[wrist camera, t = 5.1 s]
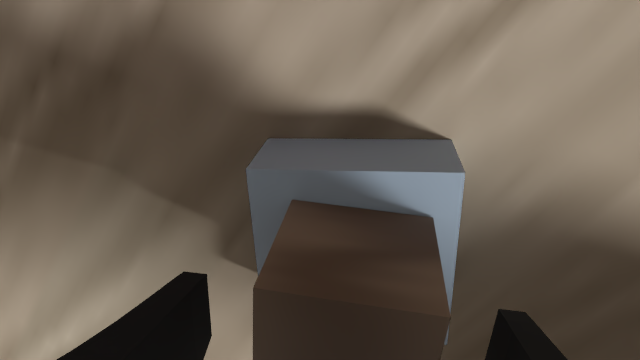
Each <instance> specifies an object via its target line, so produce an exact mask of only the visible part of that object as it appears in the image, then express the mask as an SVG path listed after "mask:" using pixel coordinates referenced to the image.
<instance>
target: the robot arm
mask: <svg viewBox="0 0 640 360" xmlns="http://www.w3.org/2000/svg"><path fill="white" fill-rule="evenodd" d="M211 336H212V334H211V321H210V309H209V296H208V283H207V274H200V273H192V272H183V273H181V274H180V275H178V276H177V277H176V278H174V279H173V280H172V281H170V282H169V283H167V284H166V285H165V286H163V287H162V288H161V289H160V290H158V291H157V292H156V293H154V294H153V295H152V296H150V297H149V298H148V299H146V300H145V301H143V302H142V303H141V304H139V305H138V306H137V307H135V308H134V309H132V310H131V311H130V312H128V313H127V314H126V315H124V316H123V317H121V318H120V319H119V320H117V321H116V322H114V323H113V324H111V325H110V326H108V327H107V328H105V329H104V330H102V331H101V332H99V333H98V334H96V335H95V336H93V337H92V338H90V339H89V340H87V341H86V342H84V343H83V344H81V345H80V346H78V347H77V348H75V349H73V350H72V351H70V352H69V353H67V354H65V355H64V356H62V357H60V358H59V359H57V360H203V359H204V356H205V353H206V350H207V348H208V345H209V342H210V339H211ZM485 360H567V359H566V357H565V356H564V355H563V354H562V353H561V352H560V351H559V350H558V348H557V347H556V346H555V345H554V344H553V343H552V342H551V341H550V339H549V338H548V337H547V336H546V335H545V334H544V333H543V331H542V330H541V329H540V328H539V327H538V326H537V325H536V323H535V322H534V321H533V320H532V319H531V318H530V317H529V316H528V315H527V314H526V312H519V311H510V310H502V309H499V310H498V314H497V317H496V321H495V325H494V328H493V332H492V336H491V339H490V343H489V347H488V350H487V354H486V358H485Z"/></svg>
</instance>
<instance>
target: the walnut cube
mask: <svg viewBox="0 0 640 360" xmlns="http://www.w3.org/2000/svg"><path fill="white" fill-rule="evenodd" d="M450 319H451V316H450V311H449V305H448V299H447V293H446V288H445V282H444V276H443V271H442V265H441V259H440V254H439V248H438V242H437V236H436V231H435V225H434V219H433V218H432V217H425V216H417V215H409V214H401V213H394V212H386V211H378V210H370V209H363V208H355V207H347V206H339V205H331V204H324V203H316V202H308V201H300V200H293V199H292V201H291V203H290V205H289V207H288V210H287V212H286V214H285V217H284V219H283V221H282V223H281V226H280V228H279V230H278V233H277V235H276V237H275V239H274V242H273V244H272V246H271V249H270V251H269V253H268V255H267V258H266V260H265V262H264V265H263V267H262V269H261V271H260V274H259V276H258V278H257V280H256V283H255V285H254V287H253V360H440V358H441V354H442V350H443V346H444V342H445V338H446V334H447V330H448V326H449V323H450Z"/></svg>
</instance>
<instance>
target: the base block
mask: <svg viewBox="0 0 640 360" xmlns="http://www.w3.org/2000/svg"><path fill="white" fill-rule="evenodd" d="M246 176H247V184H248V193H249V202H250V210H251V219H252V228H253V236H254V245H255V254H256V262H257V271H258V276H259V274H260V271H261V269H262V267H263V265H264V262H265V260H266V258H267V255H268V253H269V251H270V249H271V246H272V244H273V242H274V239H275V237H276V235H277V233H278V230H279V228H280V226H281V223H282V221H283V219H284V217H285V214H286V212H287V210H288V207H289V205H290V203H291V201H292V199H293V200H300V201H308V202H316V203H324V204H331V205H339V206H347V207H355V208H363V209H370V210H378V211H386V212H394V213H401V214H409V215H417V216H425V217H432V218H433V219H434V225H435V231H436V236H437V242H438V248H439V254H440V259H441V265H442V271H443V276H444V282H445V288H446V293H447V299H448V305H449V311H450V313H451V303H452V294H453V284H454V275H455V265H456V256H457V246H458V237H459V227H460V217H461V208H462V198H463V189H464V179H465V171H464V169H463V166H462V164H461V162H460V159H459V157H458V154H457V152H456V149H455V147H454V145H453V142H452V140H435V139H292V138H268V139H267V141H266V142H265V143H264V145H263V146H262V147H261V149H260V150H259V152H258V153H257V154H256V156H255V157H254V158H253V160H252V161H251V163H250V164H249V165H248V167H247V168H246ZM448 332H449V326H448V330H447V334H446V338H445V342H444V345H447V341H448Z"/></svg>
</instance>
